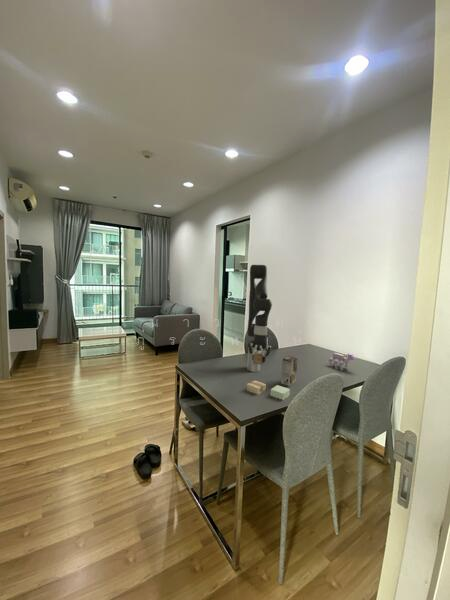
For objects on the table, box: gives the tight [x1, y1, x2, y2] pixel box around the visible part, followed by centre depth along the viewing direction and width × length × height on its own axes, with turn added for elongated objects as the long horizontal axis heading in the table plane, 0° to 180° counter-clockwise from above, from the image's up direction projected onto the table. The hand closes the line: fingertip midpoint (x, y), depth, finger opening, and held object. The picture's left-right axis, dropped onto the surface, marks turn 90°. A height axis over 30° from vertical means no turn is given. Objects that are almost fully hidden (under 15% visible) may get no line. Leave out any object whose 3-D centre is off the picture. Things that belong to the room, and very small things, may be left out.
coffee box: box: [280, 355, 298, 387], centre depth 167 cm, size 9×6×16 cm
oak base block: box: [246, 380, 267, 396], centre depth 154 cm, size 8×8×4 cm
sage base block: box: [270, 384, 291, 401], centre depth 149 cm, size 8×8×4 cm
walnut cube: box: [253, 352, 264, 366], centre depth 152 cm, size 5×5×5 cm
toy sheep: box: [328, 352, 357, 372], centre depth 198 cm, size 20×11×14 cm, turn 35°
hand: (258, 361), depth 153 cm, fingers closed on walnut cube, 5 cm apart
